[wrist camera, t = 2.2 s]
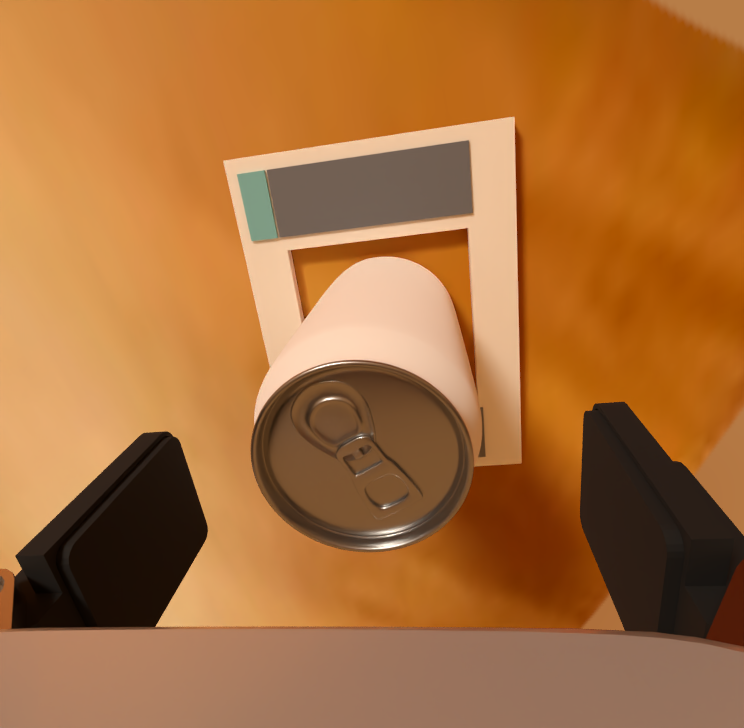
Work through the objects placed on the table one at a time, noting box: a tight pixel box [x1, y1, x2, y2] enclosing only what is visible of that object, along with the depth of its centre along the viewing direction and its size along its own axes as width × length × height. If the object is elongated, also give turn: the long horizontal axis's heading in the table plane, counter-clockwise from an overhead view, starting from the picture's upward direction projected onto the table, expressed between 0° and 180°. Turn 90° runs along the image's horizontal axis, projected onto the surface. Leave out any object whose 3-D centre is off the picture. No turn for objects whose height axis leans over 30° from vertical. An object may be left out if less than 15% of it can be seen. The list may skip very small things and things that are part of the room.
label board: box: [223, 117, 522, 466], centre depth 23 cm, size 16×12×1 cm
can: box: [251, 257, 482, 552], centre depth 18 cm, size 6×6×12 cm
